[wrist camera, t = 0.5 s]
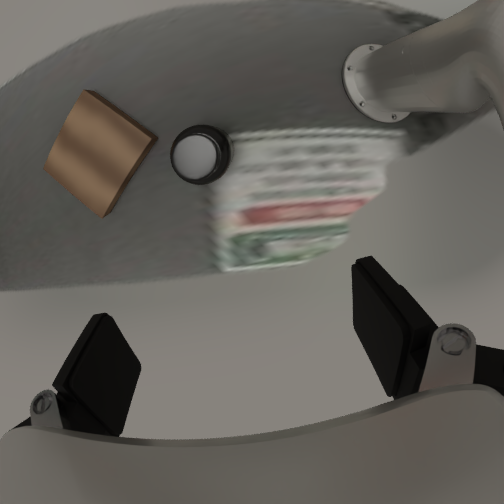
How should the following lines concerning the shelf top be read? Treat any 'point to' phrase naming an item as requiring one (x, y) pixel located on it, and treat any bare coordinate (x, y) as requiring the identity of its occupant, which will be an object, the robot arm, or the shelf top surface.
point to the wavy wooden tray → (98, 152)
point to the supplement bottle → (201, 154)
